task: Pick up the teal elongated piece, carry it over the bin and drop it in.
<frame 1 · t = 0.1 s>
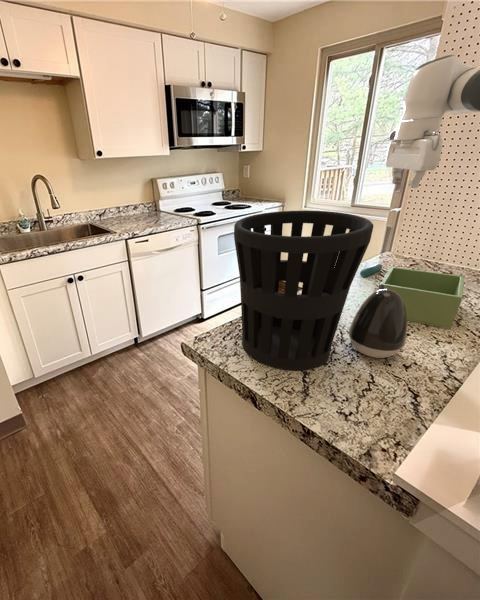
hand: (403, 185, 89), 30 cm above the countertop, tool pointing down, fingers open, 8 cm apart
teal elongated piece: (370, 273, 109), on the countertop
dark rounded piece: (371, 351, 70), on the countertop
wastebasket: (283, 346, 75), on the countertop
bin: (413, 309, 85), on the countertop
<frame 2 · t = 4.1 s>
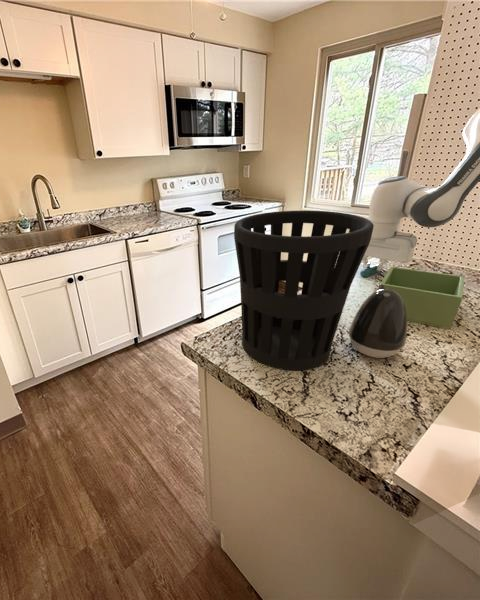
hand: (371, 269, 108), 2 cm above the countertop, tool pointing down, fingers closed on teal elongated piece, 2 cm apart
teal elongated piece: (368, 272, 109), on the countertop, tilted 43°, touching gripper
everything else where it was.
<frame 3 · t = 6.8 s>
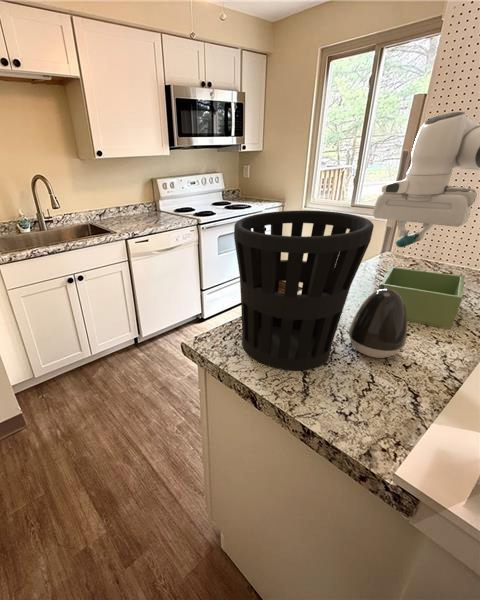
hand: (410, 238, 86), 17 cm above the countertop, tool pointing down, fingers closed on teal elongated piece, 2 cm apart
teal elongated piece: (405, 242, 87), point 16 cm above the countertop, tilted 42°, touching gripper
everything else where it was.
when the fingers open (10 cm above the countertop, at t = 9.6 s): teal elongated piece drops 8 cm, resting on bin.
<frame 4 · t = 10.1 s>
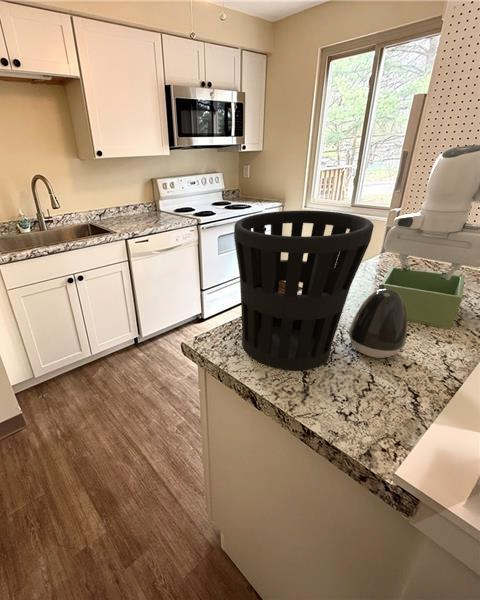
hand: (424, 274, 80), 10 cm above the countertop, tool pointing down, fingers open, 7 cm apart
teal elongated piece: (410, 305, 85), point 1 cm above the countertop, tilted 40°, touching bin
everything else where it was.
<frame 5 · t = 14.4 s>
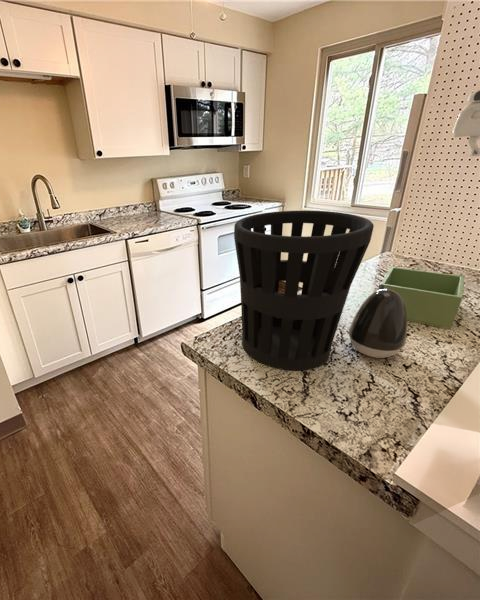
teal elongated piece: (410, 305, 85), point 1 cm above the countertop, tilted 30°, touching bin
everything else where it was.
at the end: teal elongated piece inside the target area in the bin (0.8 cm from its centre), point 0.8 cm above the bin's base; the gripper is holding nothing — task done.
